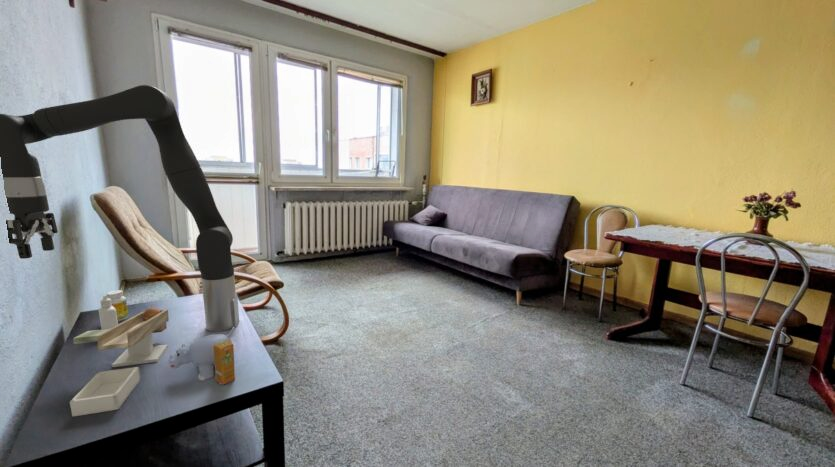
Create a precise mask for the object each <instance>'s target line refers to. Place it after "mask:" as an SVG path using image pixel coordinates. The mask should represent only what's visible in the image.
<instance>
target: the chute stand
mask: <svg viewBox="0 0 835 467" xmlns="http://www.w3.org/2000/svg"><path fill="white" fill-rule="evenodd" d="M152 334H153V333H151V334H149V335H148V336H146V337H145V338H143V339H142V340H141V341H139V342H138V343H136V344H135V345H134V346H132V347H126V349H125V350H124V351H123V352H122V353H121V354H120V355H119V356H118V357H117V358H116V360H115V361H114V362H113V363H112V364H111V366H112V368H117V367H127V366H133V365H140V364H142V365H143V364H149V363H157V362H159V361H160V359H161V358H162V356H163V355H164V353H165V352H166V351H167V350H168V348H169V344H159V345H154V344H153V343H154V342H153V336H152Z"/></svg>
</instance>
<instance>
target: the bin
mask: <svg viewBox="0 0 835 467" xmlns="http://www.w3.org/2000/svg"><path fill="white" fill-rule="evenodd" d="M140 381H141V374H140V366H135V367H127V368H121V369H112V370H111V369H110V370H104V371H98V372H97V373H96V374H95V375H94V376H93V377H92V378H91V379H90V380H89V381H88V382H87V383H86V385H84V387H82V389H81V390H80V391H79V392H77V394H76V395H75V396H74V397H73V398H72V399H71V400H70V401H69V406H70V410H71V416H72V418H73V417H78V416H79V417H80V416H85V415H91V414H98V413H103V412H111V411H115V410H116V411H117V410H120V408H121V407H122V406H123V404H124V403H125V401H126V400H127V399H128V397H129V396H130V394H132V392H133V391H134V389H135V388H136V386H137V385H138V384H139V382H140Z"/></svg>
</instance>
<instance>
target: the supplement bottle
mask: <svg viewBox="0 0 835 467" xmlns="http://www.w3.org/2000/svg"><path fill="white" fill-rule="evenodd" d="M106 296H107V298H109V299H111V303H112V306H113V307H114V308H115V309H116V314H117V320H118V322H121V321H122V322H123V321H125V320H127V319H129V318H128V317H129V311H128V309H129V308H128V303H127V298H126V296H124V292H123V290H122V289H121V290H120V289H117V290H110V291H108V292H106Z"/></svg>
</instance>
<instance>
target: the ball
mask: <svg viewBox="0 0 835 467" xmlns="http://www.w3.org/2000/svg"><path fill="white" fill-rule="evenodd" d="M160 310H161V309H159V308H158V307H148V308H147V309H145V310H144V311H145V312H144V311H143V312H144V315H143V316H144V318H145V319H146V320H149V319H151V318H152V317H154V316H156V315H157V314H159V313H160Z"/></svg>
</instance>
